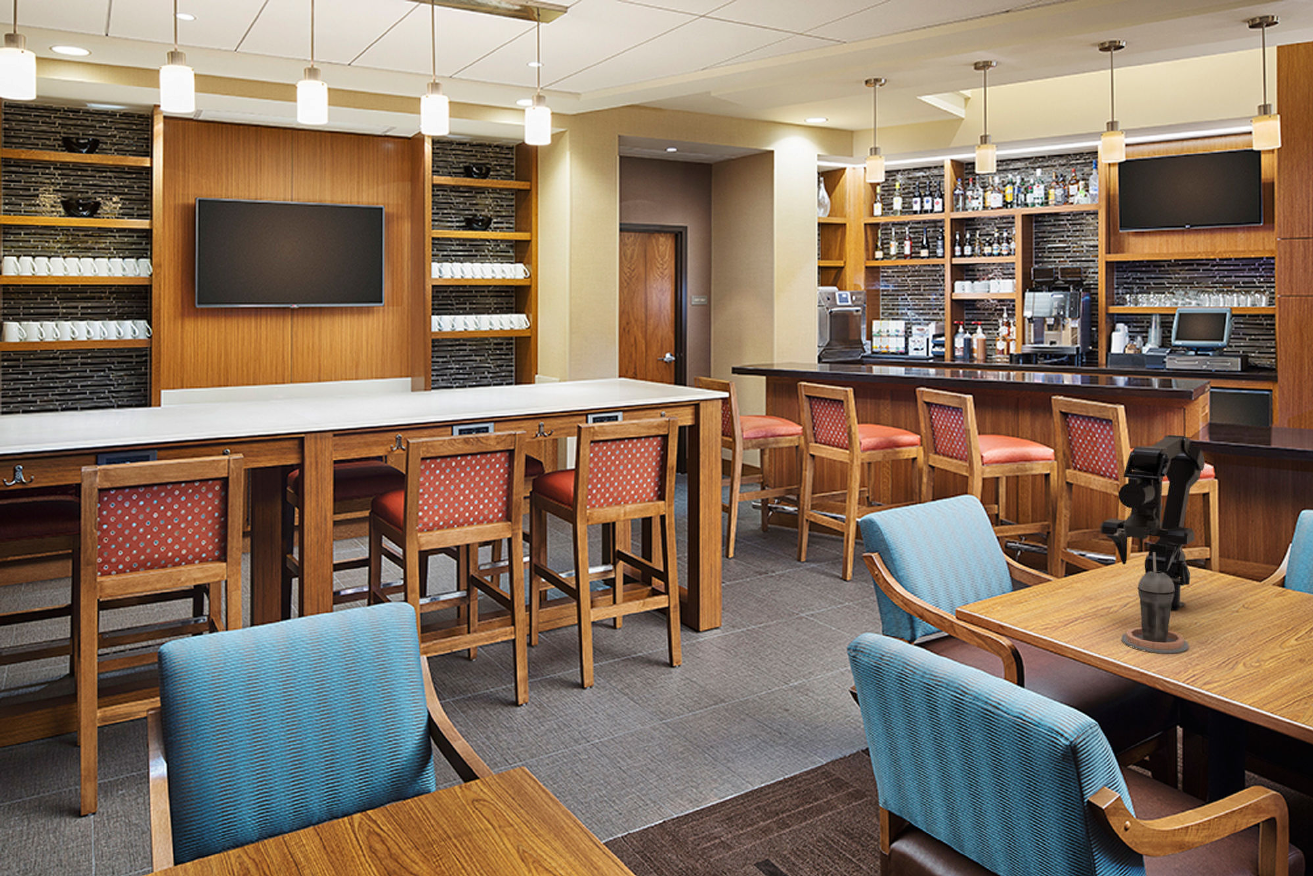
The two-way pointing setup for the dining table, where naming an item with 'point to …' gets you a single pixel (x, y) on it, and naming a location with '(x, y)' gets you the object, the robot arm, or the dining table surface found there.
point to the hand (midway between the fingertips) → (1145, 567)
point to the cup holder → (1172, 645)
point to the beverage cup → (1155, 604)
